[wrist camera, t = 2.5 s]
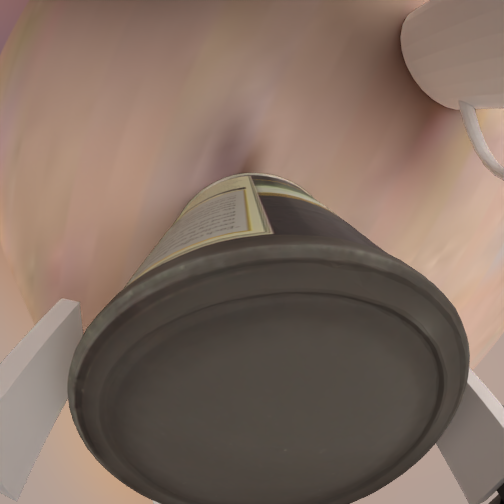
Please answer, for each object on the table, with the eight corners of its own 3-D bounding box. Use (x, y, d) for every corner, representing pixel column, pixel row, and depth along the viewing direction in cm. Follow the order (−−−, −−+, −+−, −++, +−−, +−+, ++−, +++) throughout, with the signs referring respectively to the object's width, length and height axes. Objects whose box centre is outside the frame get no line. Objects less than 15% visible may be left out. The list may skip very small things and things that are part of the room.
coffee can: (335, 168, 18) (517, 236, 5) (328, 320, 22) (407, 495, 8) (160, 176, 18) (1, 262, 5) (180, 329, 21) (136, 518, 8)
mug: (398, -8, 14) (489, -70, 4) (482, 35, 15) (579, 13, 5) (386, 152, 18) (507, 173, 8) (473, 179, 19) (584, 214, 9)
